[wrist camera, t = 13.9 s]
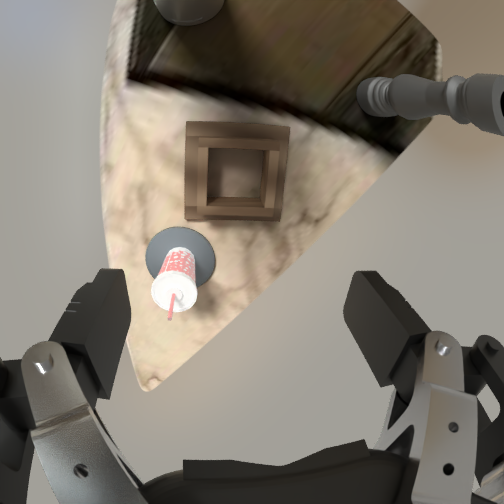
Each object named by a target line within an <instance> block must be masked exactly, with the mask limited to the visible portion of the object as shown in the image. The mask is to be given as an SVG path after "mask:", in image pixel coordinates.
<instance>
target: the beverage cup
mask: <svg viewBox="0 0 504 504" xmlns="http://www.w3.org/2000/svg"><path fill="white" fill-rule="evenodd" d="M151 294H152V297H153V300H154V301H155V302H156V303H157V305H158V306H159V307H161V308H163V309H165V310H167V311H169V314H168V320H172V314H173V312H181V311H185V310H187V309H189V308H191V307H192V306H193V304H194V303H195V302H196V299H197V287H196V284H195V259H194V255H193V254H192V253H191V251H189V250H188V249H186V248H182V247H177V248H173V249H172V250H170V251H169V252H168V254H167V255H166V258H165V260H164V262H163V265H162V267H161V269H160V272H159V274H158V276H157V277H156V279H155V280H154V282H153V284H152V288H151Z"/></svg>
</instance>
